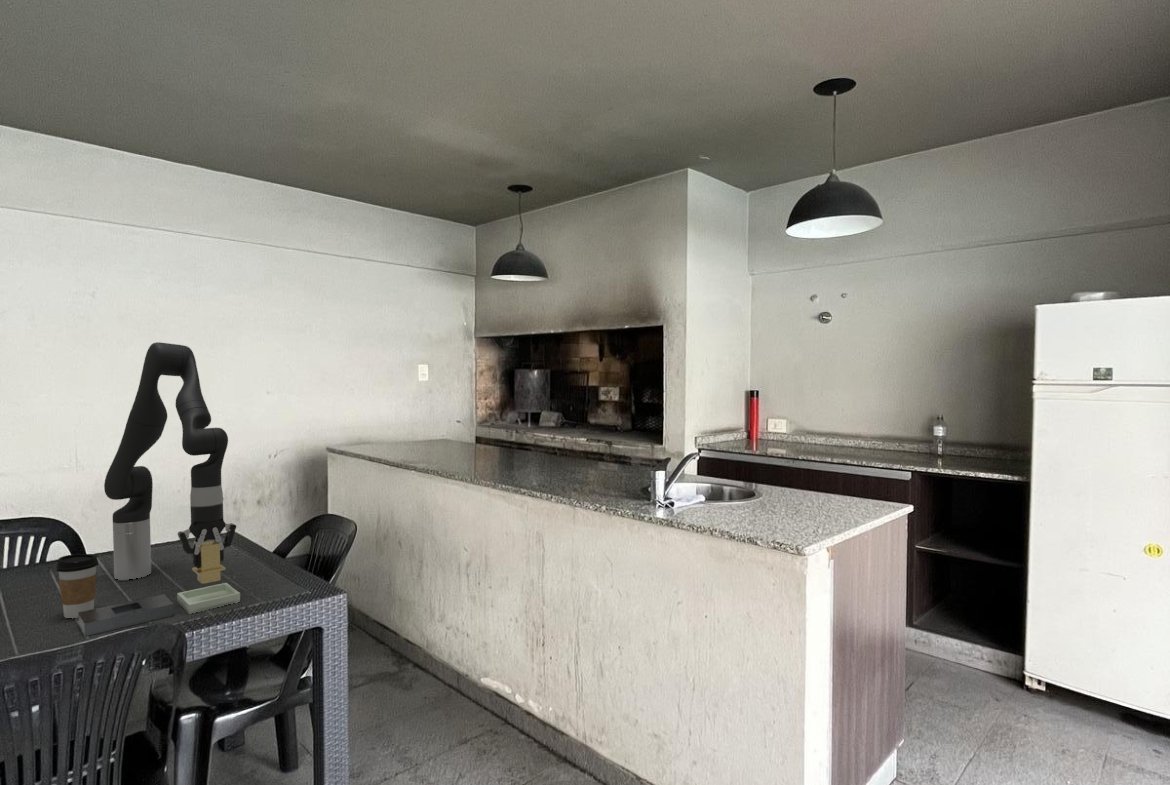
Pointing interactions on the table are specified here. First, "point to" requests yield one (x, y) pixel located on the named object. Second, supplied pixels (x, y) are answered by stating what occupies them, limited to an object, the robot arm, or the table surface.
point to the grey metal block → (125, 614)
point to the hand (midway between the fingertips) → (208, 565)
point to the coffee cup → (77, 583)
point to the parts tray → (208, 598)
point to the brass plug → (209, 563)
